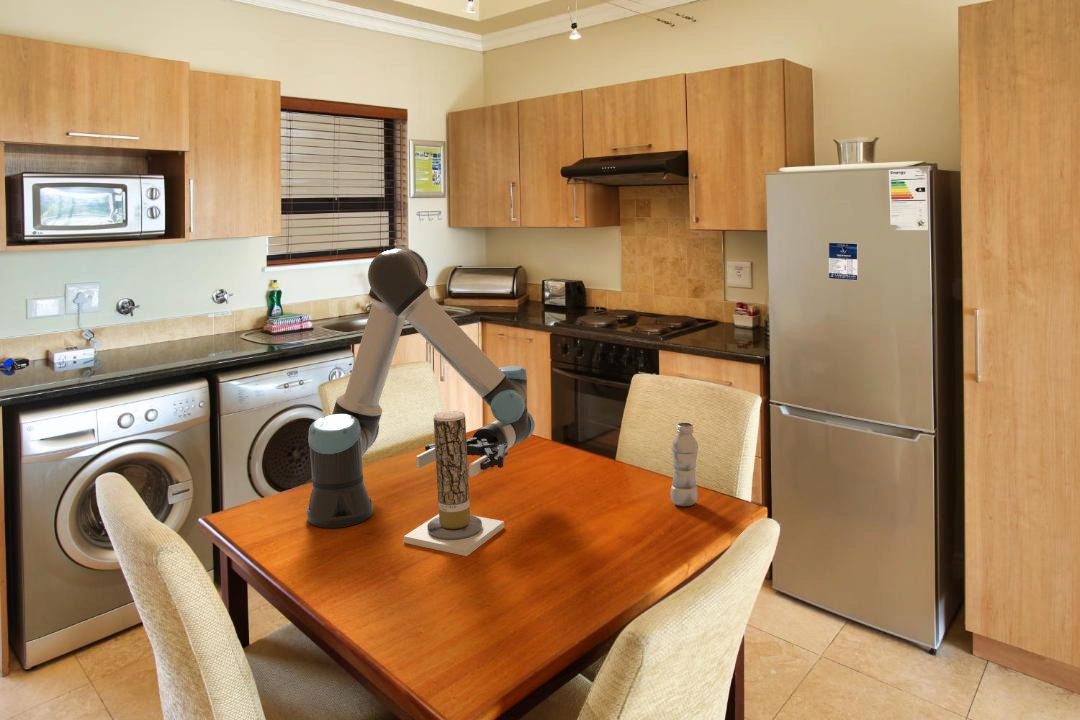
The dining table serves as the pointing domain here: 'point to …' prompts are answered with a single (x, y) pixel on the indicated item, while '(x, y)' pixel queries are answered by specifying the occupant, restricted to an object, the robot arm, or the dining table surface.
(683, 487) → the plastic bottle
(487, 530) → the domed button base
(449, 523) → the paper tube
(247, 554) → the dining table surface
